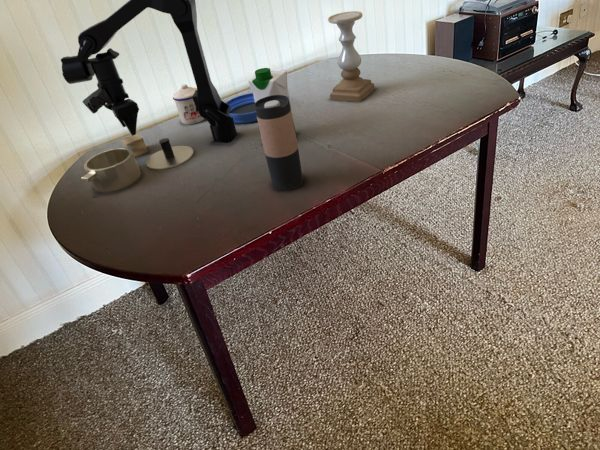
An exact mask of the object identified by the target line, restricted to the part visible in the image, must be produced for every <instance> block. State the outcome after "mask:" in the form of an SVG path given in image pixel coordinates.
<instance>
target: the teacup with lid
mask: <svg viewBox="0 0 600 450" xmlns="http://www.w3.org/2000/svg"><path fill="white" fill-rule="evenodd" d="M195 90H197V87H192V86H188V84H186V83H184V84H181V86H180V89H178V91H176V92H174V94H173V95H172V100H174V101H173V102H174V104H175V107H176V110H177V112H178V113H177V114H178V116H179V120H180V122H181V124H183V125H194V124H198V123H201V122H202V121H204V120H206V119H205V118H203V117H201V116H200V114H199V112H198V111H197V112H196V105H195V103H194V101H193V98H192V97H193V95H194V92H195Z"/></svg>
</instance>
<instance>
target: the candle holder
mask: <svg viewBox="0 0 600 450" xmlns="http://www.w3.org/2000/svg"><path fill="white" fill-rule="evenodd" d="M362 18H363V12H362V11H359V10H358V11H357V10H356V11H353V10H352V11H351V10H350V11H342V12H339V13H336V14H333V15H330V16H328V18H327V21H328V23H329V24H333V25H336V26H337V28H338V29H339V30H340V35H339V37H338V41H339V42H340V45H341V46H342V48H341V51H340V54H339V55H338V59H337V66H338V67H339V69H341V70H342V71H341V73H340V77H341V78H342V79H341V80H340V81H339V83H337V84H336V85H335V86H333V88H332V91H331V92H330V93H329V99H330V100H331V101H340V102H341V101H343V102H356V103H357V102H358V103H359V102H362V101H363V100H365V99H366V98H367V97H368V96H369V95H370V94H372V93H373V92H374V91H375V89H376V87H375V83H373V82H372V80H371V79H367V78H363V77H361V70H360V68H359V67H360V66H361V64H362V57H361V54H360V53H359V52H358V51H357V50H356V48H355V46H354V43H355V41H356V39H357V36H356V35H355V33H354V31H353V28H354V25H355V23H356V21H358V20H361V19H362Z"/></svg>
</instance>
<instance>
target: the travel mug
mask: <svg viewBox="0 0 600 450" xmlns="http://www.w3.org/2000/svg"><path fill="white" fill-rule="evenodd" d="M289 99H290V97H289V98H288V97H287V96H284V95H272V96H268V97H264V98H262V99H260V100H258V101H257V102H256V103H255V111H256V115H257V120H258V121H257V124H258V128H259V133H260V138H261V143H262V148H263V152H264V156H265V160H266V163H267V168H268V171H269V174H270V179H271V183H272V186H273V188H274V189H276V190H278V191H290V190H294V189H296V188H298V187H300V186H301V185H302V183H303V179H304V178H303V171H302V166H301V158H300V149H299V145H298V140H297V133H296V134H295V130H296V127H295V128H294V125H295V122H294V123H293V121H294V118H292V116H293V112H292V113H291V110H292V106H291V107H290V104H291V101H290V102H289Z"/></svg>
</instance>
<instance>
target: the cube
mask: <svg viewBox="0 0 600 450" xmlns="http://www.w3.org/2000/svg"><path fill="white" fill-rule="evenodd" d="M121 142H122V144H123V147H124V148H126V147H127V146H129V145H131V146H136V150H134V151H133V154H134V157H135V158H136V157H138V156H142V155H143V154H146V153H148V152H149V150H148V148H147V145H146V142H145V139H144V138H143V136H141V134H139V133H136V135H133V136H132V135H130V136H127V137H123V138H122V139H121Z"/></svg>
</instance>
